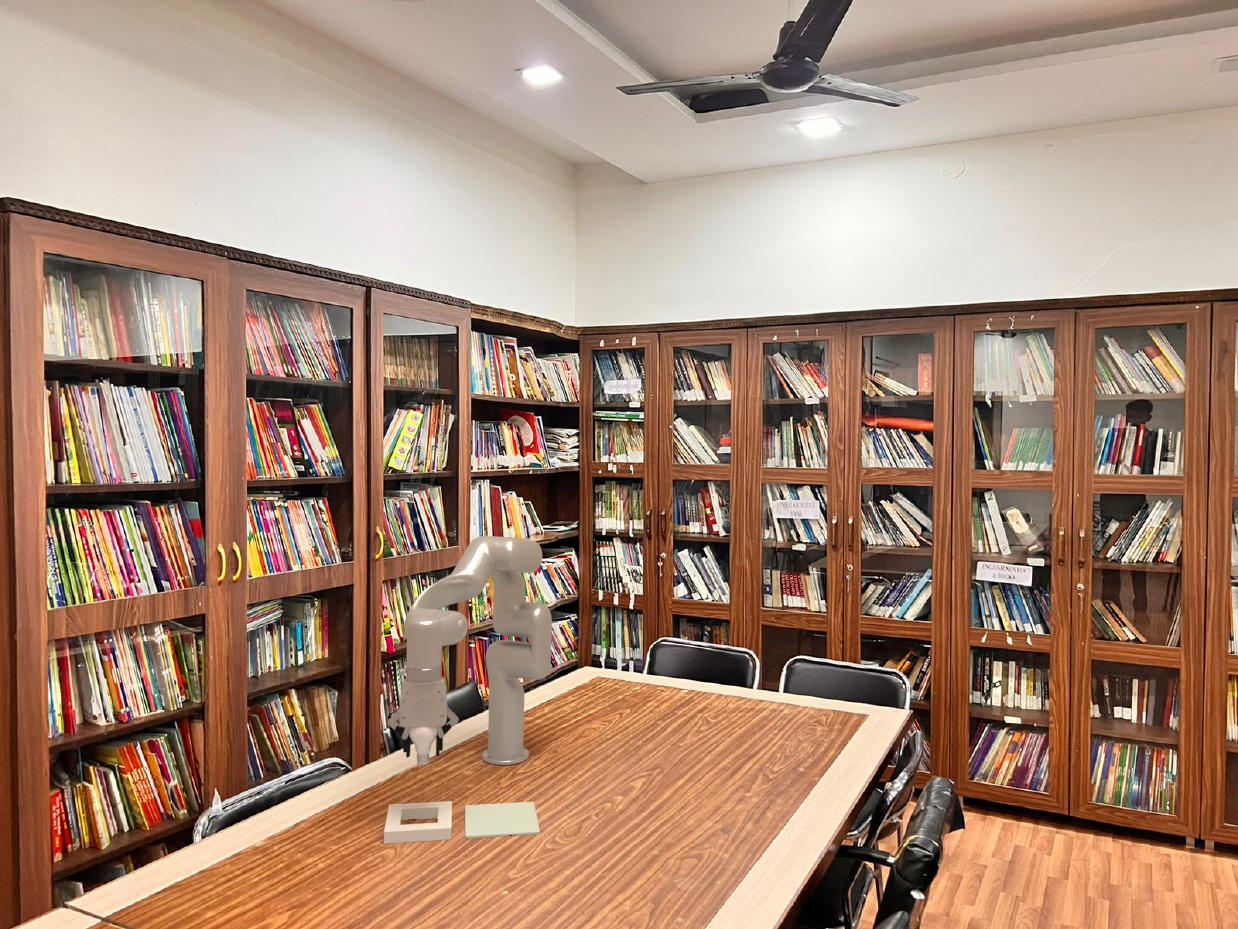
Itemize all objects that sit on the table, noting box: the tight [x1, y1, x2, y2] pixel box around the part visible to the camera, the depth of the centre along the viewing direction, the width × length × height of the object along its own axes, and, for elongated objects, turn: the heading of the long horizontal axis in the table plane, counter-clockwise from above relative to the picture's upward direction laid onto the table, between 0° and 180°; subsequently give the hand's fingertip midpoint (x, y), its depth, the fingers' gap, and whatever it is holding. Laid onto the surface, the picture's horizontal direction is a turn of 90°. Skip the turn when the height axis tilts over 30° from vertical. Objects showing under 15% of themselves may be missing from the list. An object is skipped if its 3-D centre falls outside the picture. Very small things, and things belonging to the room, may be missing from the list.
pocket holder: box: [383, 800, 453, 845], centre depth 191 cm, size 14×14×2 cm
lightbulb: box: [409, 727, 438, 767], centre depth 190 cm, size 6×6×11 cm
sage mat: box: [464, 801, 541, 839], centre depth 195 cm, size 16×16×1 cm
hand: (423, 753), depth 191 cm, fingers closed on lightbulb, 5 cm apart
